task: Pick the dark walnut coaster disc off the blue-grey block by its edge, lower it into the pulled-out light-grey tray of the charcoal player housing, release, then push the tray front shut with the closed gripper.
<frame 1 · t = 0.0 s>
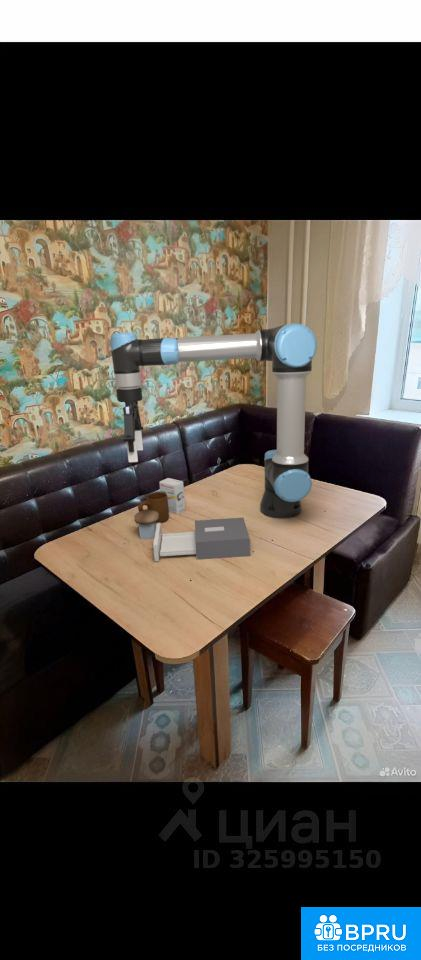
hand: (136, 455, 129), 28 cm above the table, fingers open, 13 cm apart
ink box: (173, 510, 157), on the table
block: (148, 535, 137), on the table
mug: (154, 522, 148), on the table
housing: (221, 545, 128), on the table
tray: (180, 539, 127), point 3 cm above the table, slide at 11.0 cm
coaster: (146, 519, 135), point 6 cm above the table, touching block
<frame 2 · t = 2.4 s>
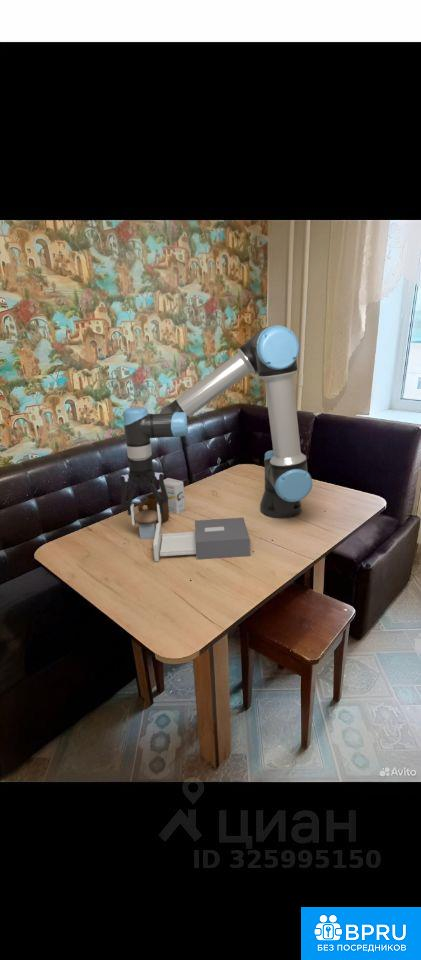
hand: (147, 522, 136), 5 cm above the table, fingers closed on coaster, 8 cm apart
coaster: (146, 519, 135), point 6 cm above the table, touching block, gripper
everything else where it was.
when the fingers open (3 cm above the table, at t = 7.0 s): coaster drops 3 cm, resting on tray.
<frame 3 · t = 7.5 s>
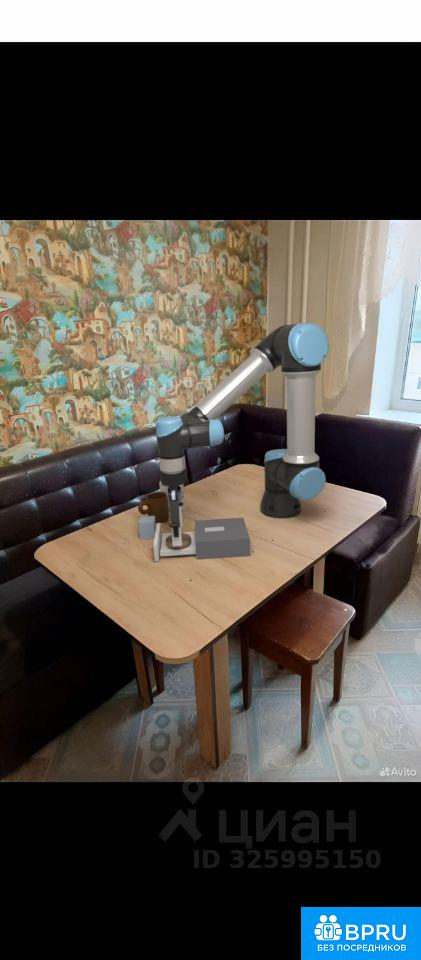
hand: (178, 535, 126), 5 cm above the table, fingers open, 13 cm apart
tray: (180, 539, 127), point 3 cm above the table, slide at 11.0 cm, touching coaster
coaster: (178, 543, 127), point 2 cm above the table, touching tray
everything else where it was.
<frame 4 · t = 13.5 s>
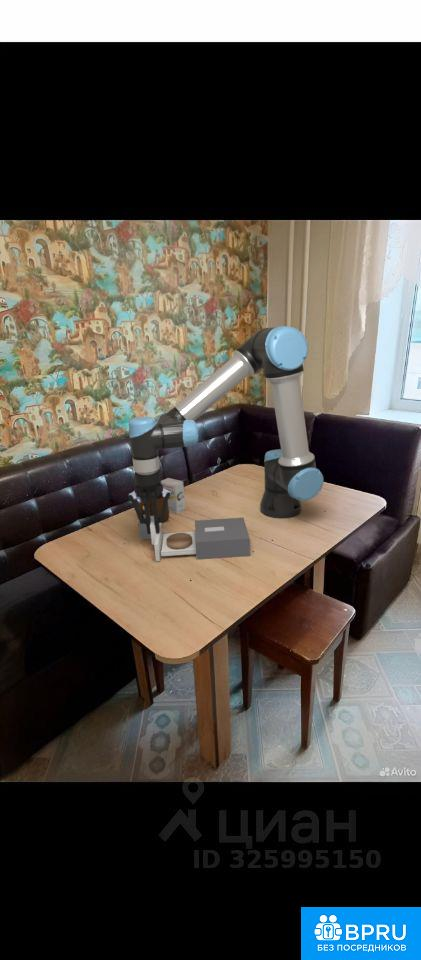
hand: (154, 542, 127), 3 cm above the table, fingers closed
tray: (181, 539, 127), point 3 cm above the table, slide at 10.7 cm, touching coaster, gripper
everything else where it was.
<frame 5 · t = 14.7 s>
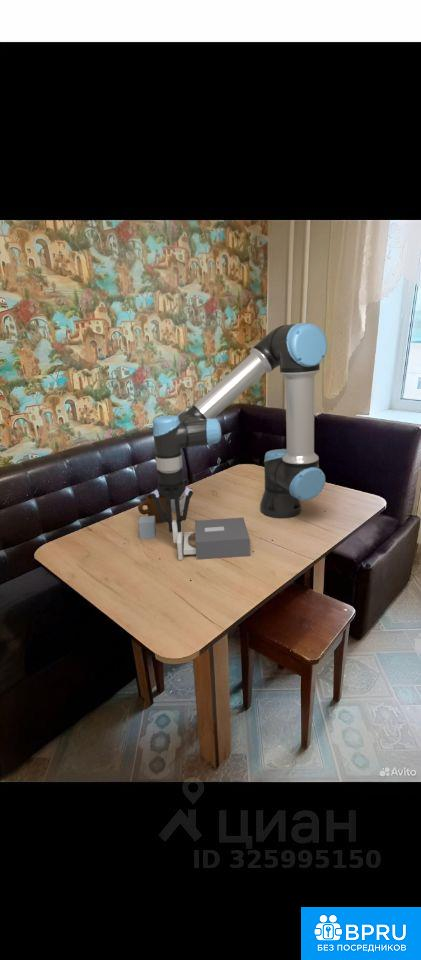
hand: (176, 540, 127), 3 cm above the table, fingers closed
tray: (203, 538, 127), point 3 cm above the table, slide at 4.0 cm, touching coaster, gripper
coaster: (201, 541, 127), point 2 cm above the table, touching tray
everything else where it was.
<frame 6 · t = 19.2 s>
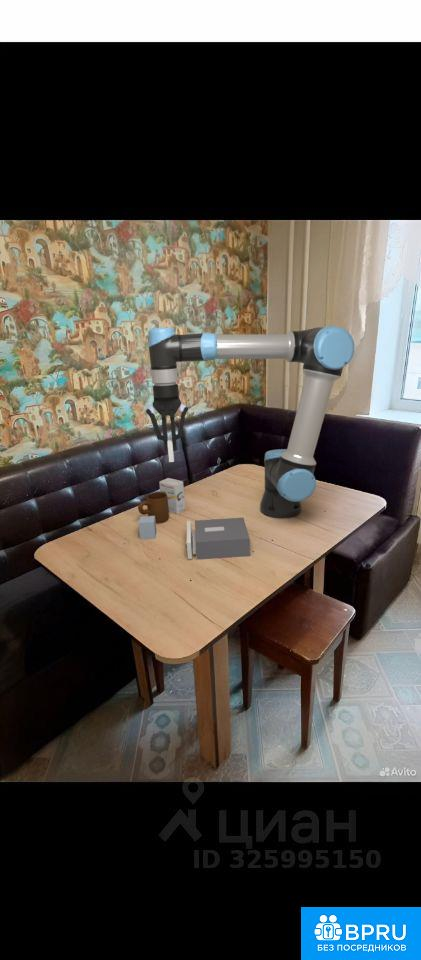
hand: (171, 460, 127), 26 cm above the table, fingers closed
tray: (212, 537, 127), point 3 cm above the table, slide at 1.2 cm, touching coaster
coaster: (209, 541, 127), point 2 cm above the table, touching tray
everything else where it was.
at the end: tray slide at 1.2 cm; coaster inside the target area on the housing (3.1 cm from its centre), point 1.8 cm above the housing's base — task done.
